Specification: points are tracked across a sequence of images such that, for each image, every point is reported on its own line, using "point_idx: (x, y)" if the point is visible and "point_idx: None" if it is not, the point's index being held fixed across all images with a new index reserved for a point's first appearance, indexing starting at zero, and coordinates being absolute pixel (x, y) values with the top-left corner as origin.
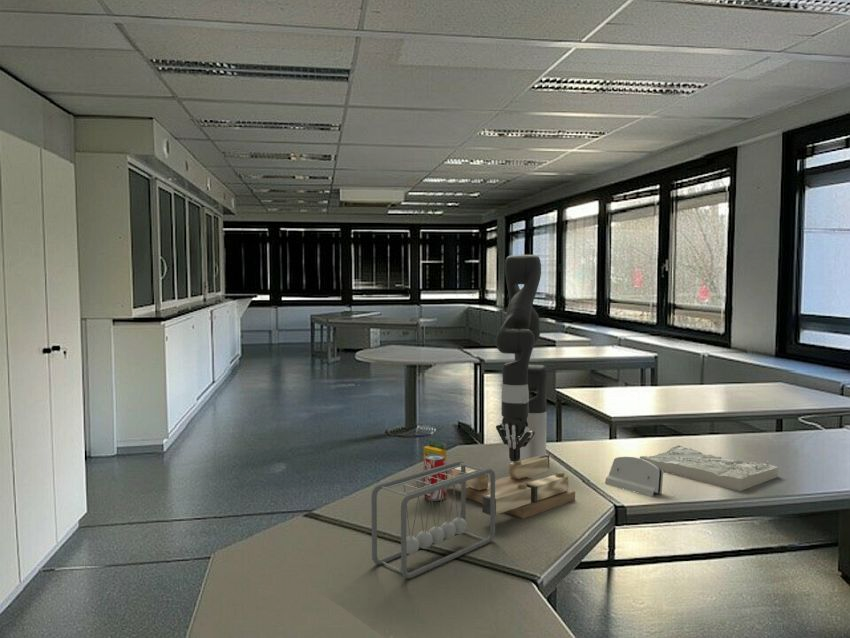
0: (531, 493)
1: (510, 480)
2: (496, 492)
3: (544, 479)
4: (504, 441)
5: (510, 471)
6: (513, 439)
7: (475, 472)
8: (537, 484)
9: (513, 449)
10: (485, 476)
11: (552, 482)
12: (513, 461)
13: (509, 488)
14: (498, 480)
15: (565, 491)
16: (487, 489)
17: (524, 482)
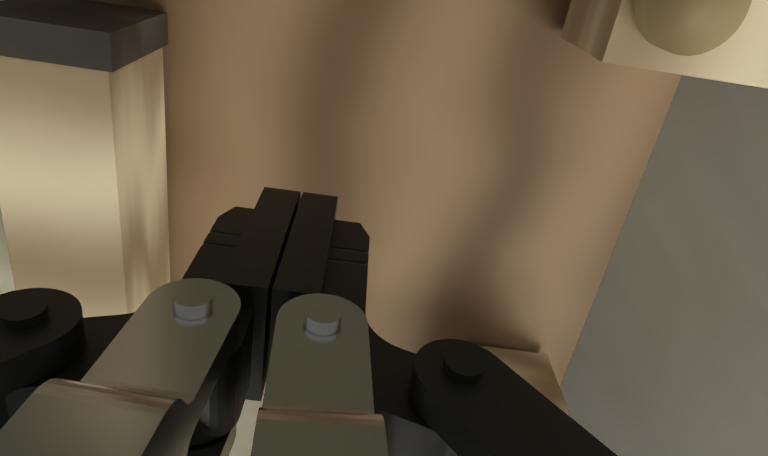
0: (47, 6)
1: (509, 308)
2: (446, 4)
3: (92, 265)
4: (471, 376)
5: (548, 379)
6: (103, 401)
7: (754, 21)
8: (14, 104)
9: (231, 276)
10: (608, 23)
11: (16, 259)
12: (281, 191)
13: (418, 161)
14: (583, 259)
15: None
16: (553, 21)
17: (407, 328)
